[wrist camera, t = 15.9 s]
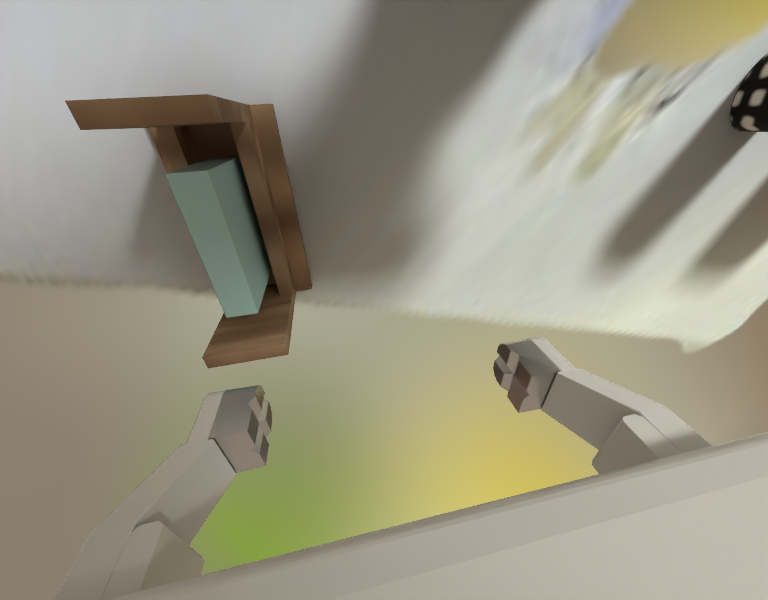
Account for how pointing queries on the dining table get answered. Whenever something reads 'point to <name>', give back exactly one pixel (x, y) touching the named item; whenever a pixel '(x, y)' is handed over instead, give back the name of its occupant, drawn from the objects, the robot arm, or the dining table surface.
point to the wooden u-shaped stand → (267, 189)
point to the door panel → (224, 231)
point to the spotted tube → (752, 100)
